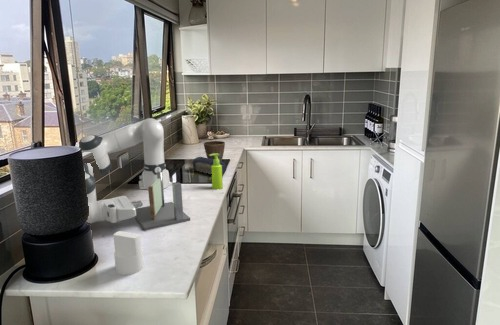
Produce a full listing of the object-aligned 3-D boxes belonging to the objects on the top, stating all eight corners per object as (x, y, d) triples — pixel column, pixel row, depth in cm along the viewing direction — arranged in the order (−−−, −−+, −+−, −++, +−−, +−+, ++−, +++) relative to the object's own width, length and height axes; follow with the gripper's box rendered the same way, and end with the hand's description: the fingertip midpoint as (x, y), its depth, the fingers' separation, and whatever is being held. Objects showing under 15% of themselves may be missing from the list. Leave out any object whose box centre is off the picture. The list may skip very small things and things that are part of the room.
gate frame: (130, 211, 171) (127, 174, 167) (171, 204, 181) (169, 168, 176) (144, 230, 150) (141, 188, 146) (190, 220, 160) (188, 180, 155)
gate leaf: (159, 206, 173) (157, 177, 169) (162, 206, 173) (160, 177, 169) (150, 219, 157) (148, 187, 154) (154, 218, 157) (151, 187, 154)
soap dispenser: (209, 187, 206) (207, 153, 202) (220, 186, 209) (219, 152, 204) (212, 190, 201) (210, 155, 196) (224, 188, 204) (222, 154, 199)
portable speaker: (190, 172, 241) (189, 157, 239) (201, 169, 248) (201, 154, 246) (217, 178, 225) (216, 162, 223) (228, 175, 232) (227, 159, 230)
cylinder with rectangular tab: (110, 272, 118) (106, 238, 116) (128, 259, 127) (124, 227, 124) (132, 277, 115) (129, 242, 112) (149, 263, 123) (146, 230, 121)
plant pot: (216, 168, 249) (216, 145, 245) (200, 165, 257) (199, 143, 253) (229, 163, 261) (229, 142, 257) (213, 161, 269) (212, 140, 265)
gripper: (105, 209, 161) (136, 203, 168) (113, 224, 144) (148, 217, 151) (103, 195, 160) (135, 190, 167) (112, 209, 143) (147, 203, 150)
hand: (141, 203), depth 159 cm, fingers closed
